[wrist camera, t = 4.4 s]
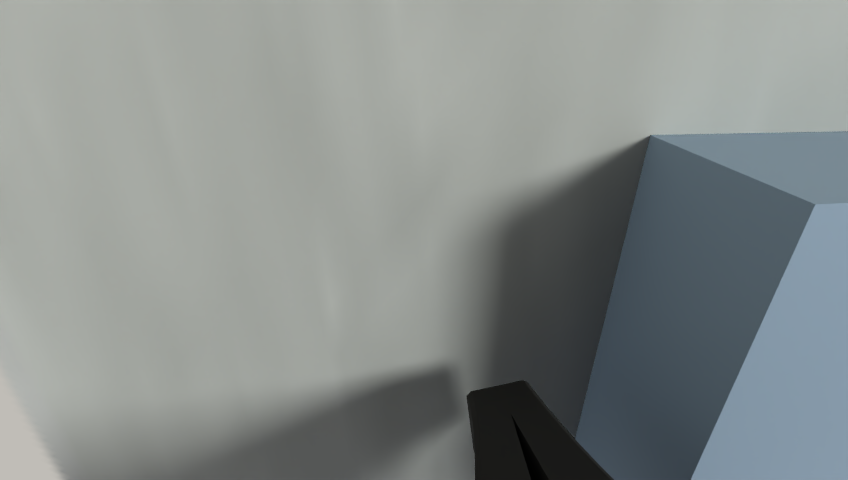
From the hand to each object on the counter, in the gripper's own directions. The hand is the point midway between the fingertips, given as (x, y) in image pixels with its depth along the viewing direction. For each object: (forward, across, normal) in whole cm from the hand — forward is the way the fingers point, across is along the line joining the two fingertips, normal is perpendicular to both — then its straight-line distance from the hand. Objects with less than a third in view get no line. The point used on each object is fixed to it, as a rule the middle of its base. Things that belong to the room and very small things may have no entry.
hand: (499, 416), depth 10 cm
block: (+2, -7, 0) cm, 7 cm away
